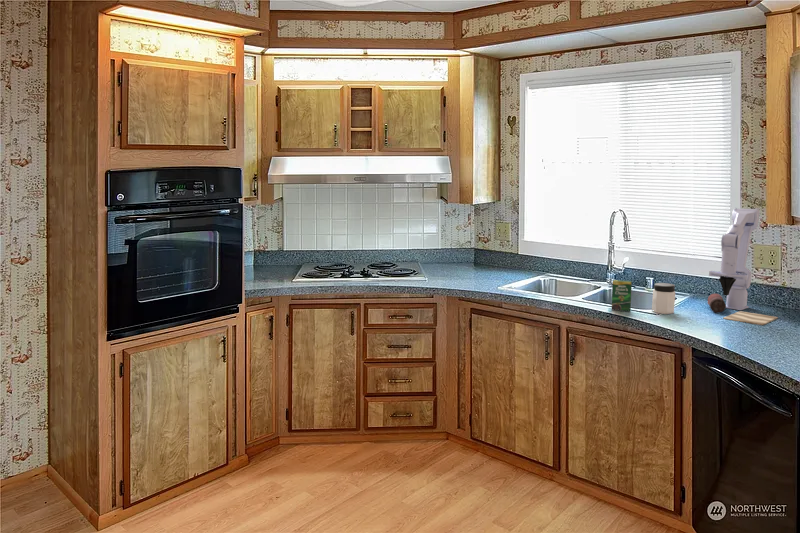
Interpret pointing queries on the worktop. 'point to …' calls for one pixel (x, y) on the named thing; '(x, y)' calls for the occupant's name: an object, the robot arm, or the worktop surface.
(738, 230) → the robot arm
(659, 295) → the jar
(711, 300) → the can
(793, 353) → the worktop surface
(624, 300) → the green cardboard box
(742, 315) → the wooden cutting board
